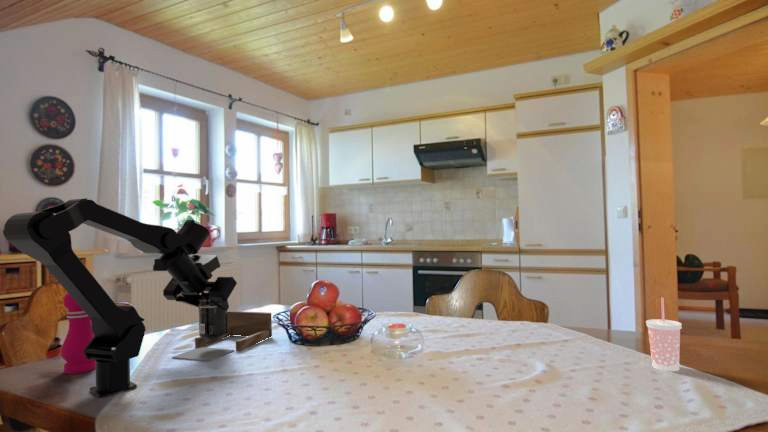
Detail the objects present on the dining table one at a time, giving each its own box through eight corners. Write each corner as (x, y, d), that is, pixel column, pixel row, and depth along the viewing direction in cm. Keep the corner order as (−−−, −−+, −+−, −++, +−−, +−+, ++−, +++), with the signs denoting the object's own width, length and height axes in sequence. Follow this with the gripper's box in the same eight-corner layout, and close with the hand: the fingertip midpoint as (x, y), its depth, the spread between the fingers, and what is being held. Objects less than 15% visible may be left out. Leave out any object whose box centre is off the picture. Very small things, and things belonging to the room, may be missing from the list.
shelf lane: (239, 351, 110) (239, 323, 110) (195, 347, 115) (194, 320, 115) (271, 337, 123) (271, 312, 123) (230, 334, 128) (229, 310, 128)
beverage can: (217, 333, 116) (216, 287, 117) (233, 336, 112) (232, 289, 113) (193, 338, 111) (192, 291, 111) (209, 341, 107) (208, 292, 107)
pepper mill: (80, 375, 95) (78, 283, 96) (52, 374, 97) (51, 283, 97) (107, 365, 102) (105, 279, 103) (81, 364, 104) (79, 279, 104)
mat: (208, 361, 102) (208, 360, 102) (172, 358, 106) (172, 357, 106) (234, 350, 111) (234, 349, 111) (199, 348, 115) (199, 346, 115)
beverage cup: (652, 360, 92) (649, 294, 92) (687, 366, 88) (683, 296, 88) (644, 368, 88) (640, 298, 88) (680, 374, 83) (676, 301, 84)
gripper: (231, 243, 106) (260, 284, 116) (172, 244, 112) (204, 283, 122) (207, 279, 98) (240, 320, 108) (145, 278, 105) (182, 316, 114)
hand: (216, 308), depth 113 cm, fingers closed on beverage can, 7 cm apart
